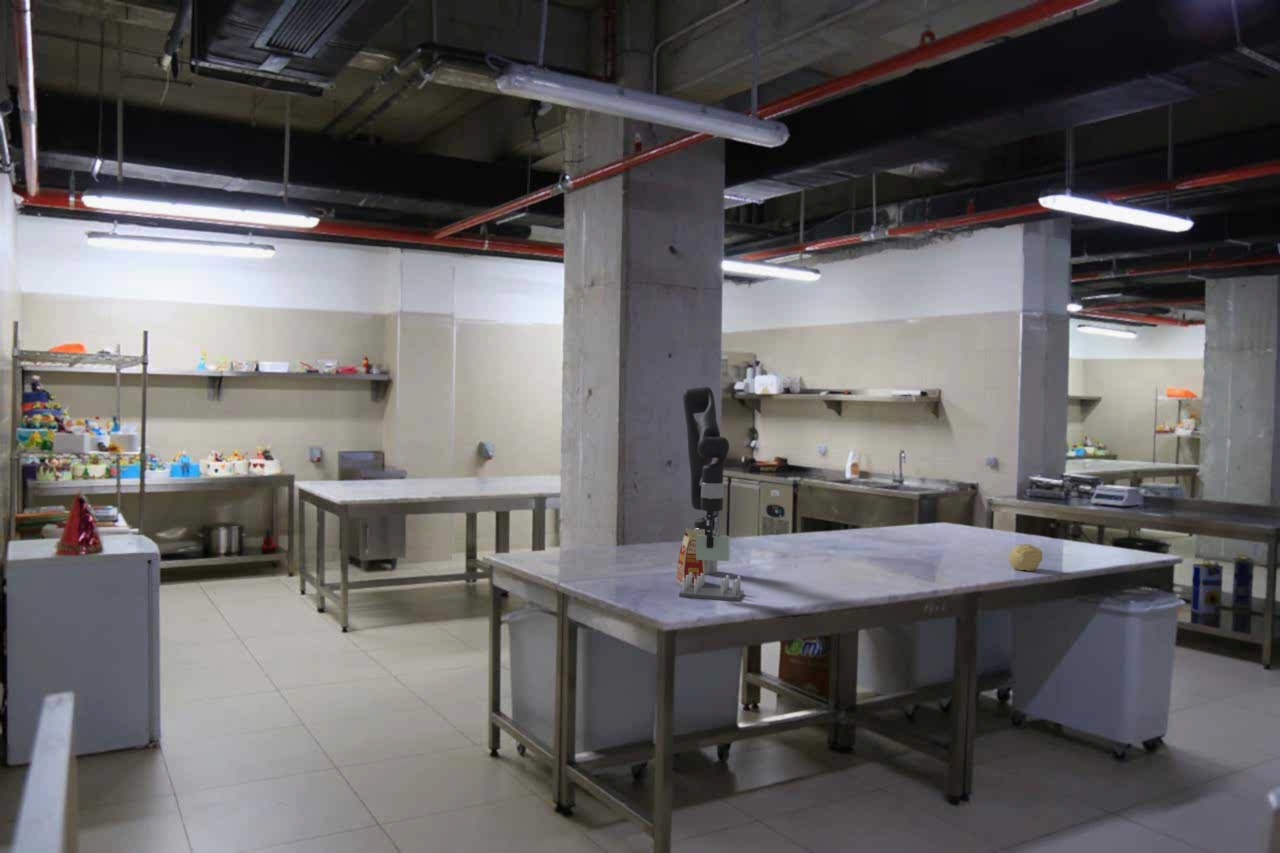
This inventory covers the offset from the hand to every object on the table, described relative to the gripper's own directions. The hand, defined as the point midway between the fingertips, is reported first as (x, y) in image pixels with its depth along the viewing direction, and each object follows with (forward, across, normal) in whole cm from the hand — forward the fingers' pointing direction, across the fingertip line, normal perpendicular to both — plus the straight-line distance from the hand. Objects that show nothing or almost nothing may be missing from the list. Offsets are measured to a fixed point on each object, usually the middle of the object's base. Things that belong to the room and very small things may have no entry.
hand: (710, 546), depth 303 cm
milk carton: (+17, -22, -11) cm, 30 cm away
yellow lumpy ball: (+17, -99, +113) cm, 151 cm away
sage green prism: (+4, 0, +1) cm, 4 cm away
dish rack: (+17, -3, 0) cm, 17 cm away
